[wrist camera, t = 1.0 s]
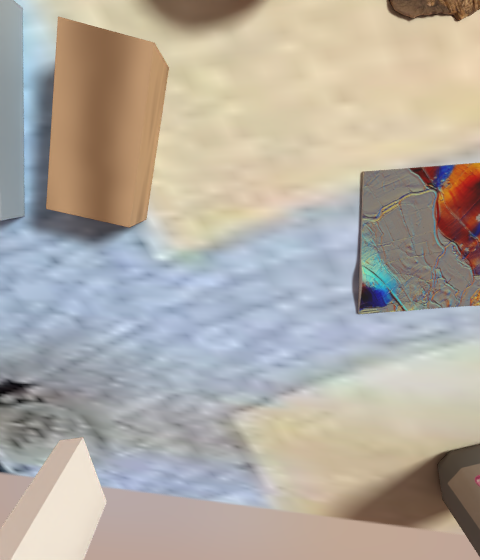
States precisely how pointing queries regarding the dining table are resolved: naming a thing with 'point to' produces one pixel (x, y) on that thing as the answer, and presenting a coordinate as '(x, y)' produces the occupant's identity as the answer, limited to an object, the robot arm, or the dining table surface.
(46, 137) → the dining table surface
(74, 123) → the block
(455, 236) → the relief map
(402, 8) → the wooden fragment
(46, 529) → the robot arm
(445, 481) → the liquor
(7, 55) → the grey rectangular bar
